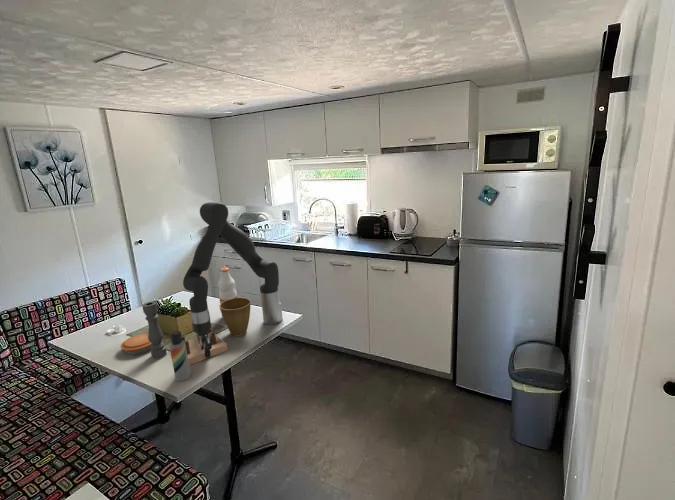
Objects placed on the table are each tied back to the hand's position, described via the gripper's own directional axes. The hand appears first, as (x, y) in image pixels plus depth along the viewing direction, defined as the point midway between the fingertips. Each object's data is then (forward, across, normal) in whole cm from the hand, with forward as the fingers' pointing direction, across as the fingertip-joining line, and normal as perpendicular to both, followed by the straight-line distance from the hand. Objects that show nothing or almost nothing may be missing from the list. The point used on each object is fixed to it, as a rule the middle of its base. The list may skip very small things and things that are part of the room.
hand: (206, 354), depth 160 cm
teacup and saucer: (+1, +61, +26) cm, 67 cm away
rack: (0, +12, 0) cm, 12 cm away
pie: (+1, +30, +21) cm, 37 cm away
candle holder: (+1, +16, +16) cm, 23 cm away
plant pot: (+1, +11, -20) cm, 23 cm away
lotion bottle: (+1, -10, +13) cm, 16 cm away
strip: (+1, 0, 0) cm, 1 cm away
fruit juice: (+1, +33, -25) cm, 41 cm away
